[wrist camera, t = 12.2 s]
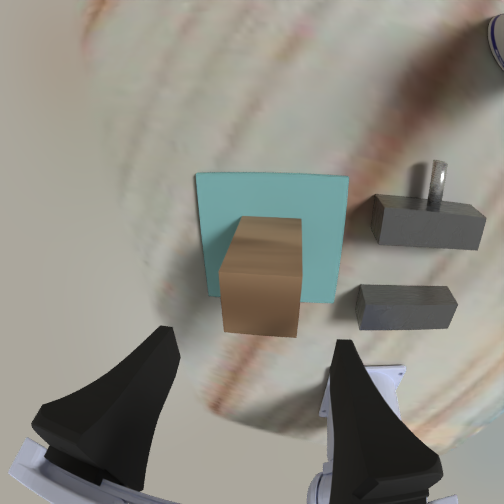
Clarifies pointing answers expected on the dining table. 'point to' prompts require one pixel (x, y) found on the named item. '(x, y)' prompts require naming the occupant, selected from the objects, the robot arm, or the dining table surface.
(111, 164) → the dining table surface
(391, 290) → the metal vise
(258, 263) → the walnut peg
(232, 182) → the teal mat
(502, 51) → the energy drink
